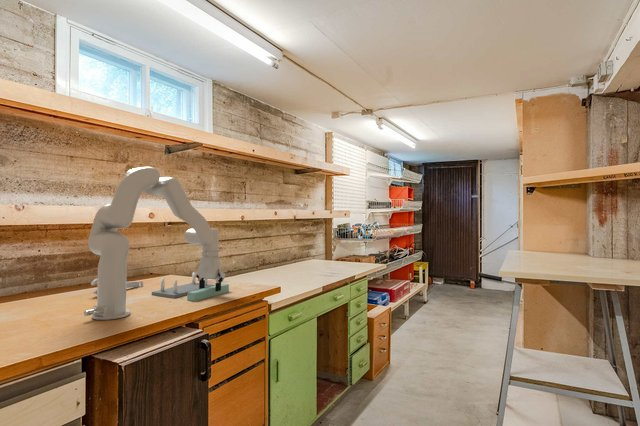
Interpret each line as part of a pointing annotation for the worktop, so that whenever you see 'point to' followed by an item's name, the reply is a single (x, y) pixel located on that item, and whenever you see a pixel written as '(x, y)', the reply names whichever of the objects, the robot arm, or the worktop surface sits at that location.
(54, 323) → the worktop surface
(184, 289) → the stand
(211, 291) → the bar
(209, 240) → the robot arm
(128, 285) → the wrench
